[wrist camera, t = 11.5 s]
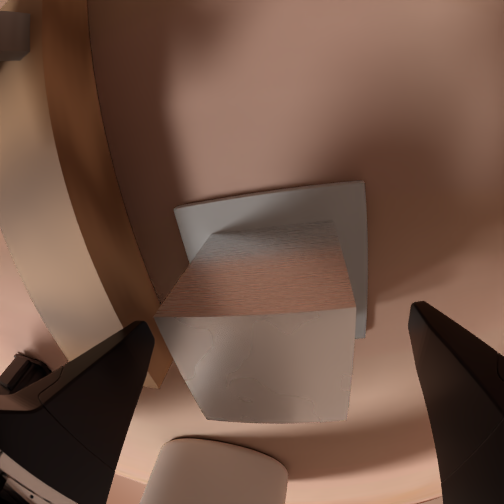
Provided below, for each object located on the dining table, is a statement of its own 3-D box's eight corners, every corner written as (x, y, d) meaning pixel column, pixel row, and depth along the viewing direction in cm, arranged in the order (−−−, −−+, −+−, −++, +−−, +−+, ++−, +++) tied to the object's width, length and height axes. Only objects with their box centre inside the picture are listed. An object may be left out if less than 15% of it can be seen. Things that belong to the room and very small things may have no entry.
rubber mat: (363, 332, 12) (365, 337, 12) (220, 341, 14) (218, 346, 13) (362, 180, 9) (364, 182, 9) (177, 205, 11) (173, 209, 11)
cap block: (337, 319, 12) (346, 420, 7) (235, 326, 13) (206, 419, 8) (332, 220, 10) (355, 307, 5) (211, 233, 11) (153, 317, 6)
